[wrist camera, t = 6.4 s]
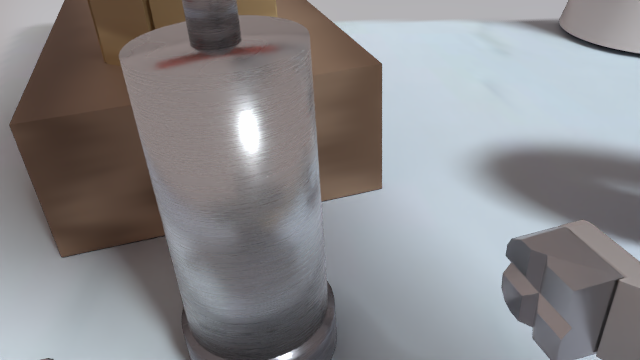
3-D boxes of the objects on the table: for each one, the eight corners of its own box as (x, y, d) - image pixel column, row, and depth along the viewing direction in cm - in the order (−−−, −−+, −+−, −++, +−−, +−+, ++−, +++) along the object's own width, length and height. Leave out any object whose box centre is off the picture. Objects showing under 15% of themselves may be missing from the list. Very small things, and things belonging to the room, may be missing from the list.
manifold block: (277, 48, 43) (264, -76, 39) (381, 188, 25) (382, -13, 21) (92, 76, 40) (54, -55, 36) (61, 257, 22) (-25, 40, 18)
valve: (328, 271, 21) (304, -97, 14) (375, 370, 17) (372, -78, 10) (167, 310, 19) (58, -74, 13) (177, 427, 16) (26, -41, 9)
